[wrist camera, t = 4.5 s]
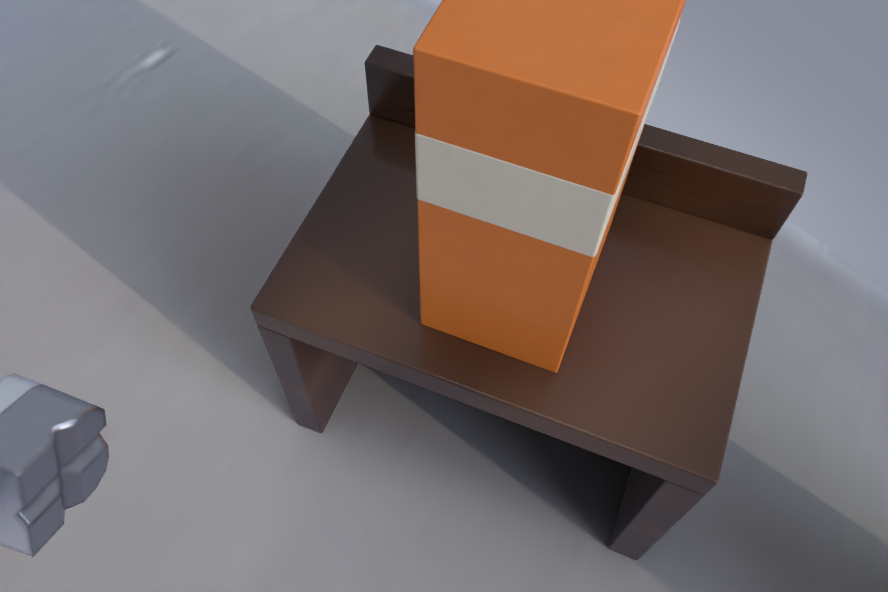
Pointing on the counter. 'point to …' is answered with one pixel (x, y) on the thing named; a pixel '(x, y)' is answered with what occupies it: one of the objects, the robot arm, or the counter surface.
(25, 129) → the counter surface
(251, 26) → the counter surface
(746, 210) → the brown wooden cabinet
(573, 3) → the packet
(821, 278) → the counter surface
